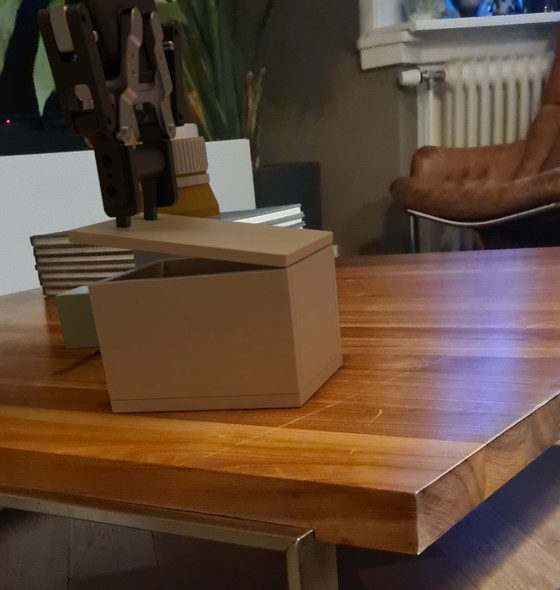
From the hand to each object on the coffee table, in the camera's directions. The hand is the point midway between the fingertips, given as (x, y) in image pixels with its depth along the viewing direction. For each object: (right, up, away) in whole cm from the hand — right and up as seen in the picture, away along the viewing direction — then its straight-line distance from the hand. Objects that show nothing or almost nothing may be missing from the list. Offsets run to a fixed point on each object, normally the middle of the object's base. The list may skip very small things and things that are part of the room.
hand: (143, 210), depth 57 cm
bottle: (+2, -4, +17) cm, 17 cm away
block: (-7, -2, +23) cm, 24 cm away
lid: (+4, -2, 0) cm, 4 cm away
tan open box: (+5, -10, +4) cm, 12 cm away
